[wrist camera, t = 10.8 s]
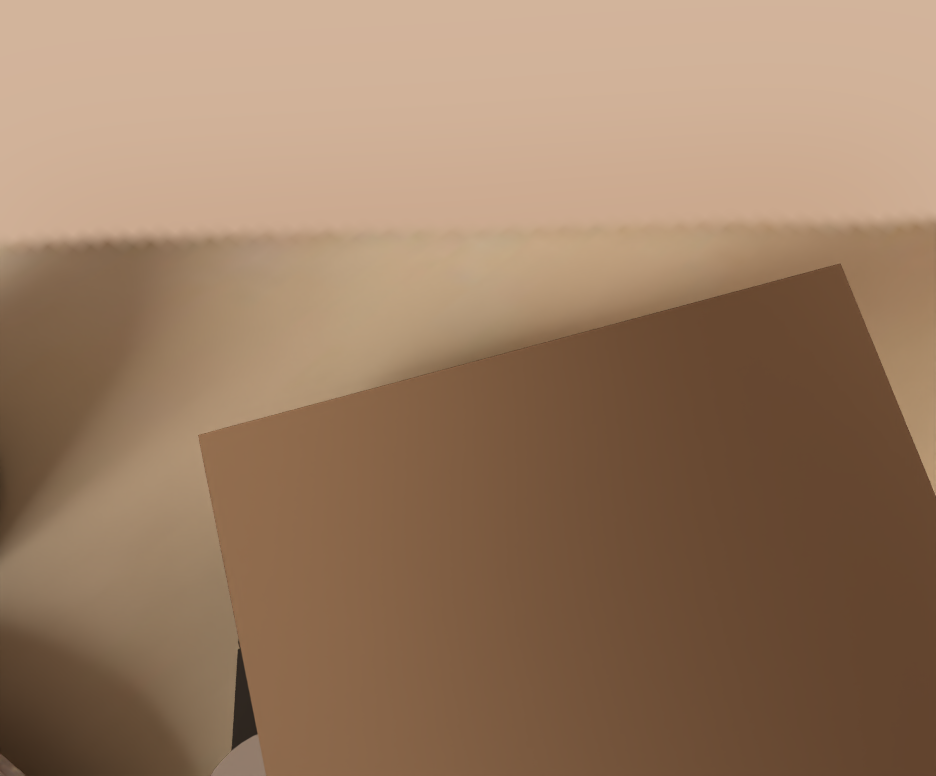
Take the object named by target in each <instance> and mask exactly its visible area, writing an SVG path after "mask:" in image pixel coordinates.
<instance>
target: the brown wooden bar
mask: <svg viewBox="0 0 936 776" xmlns="http://www.w3.org/2000/svg"><path fill="white" fill-rule="evenodd" d="M198 436H199V441H200V446H201V451H202V456H203V462H204V467H205V472H206V477H207V482H208V487H209V492H210V497H211V502H212V507H213V512H214V517H215V522H216V527H217V532H218V537H219V542H220V547H221V552H222V557H223V562H224V567H225V572H226V577H227V582H228V587H229V592H230V597H231V602H232V607H233V612H234V617H235V622H236V627H237V632H238V637H239V642H240V647H241V652H242V657H243V662H244V667H245V672H246V677H247V682H248V687H249V692H250V697H251V702H252V707H253V712H254V718H255V723H256V728H257V733H258V738H259V743H260V748H261V753H262V758H263V763H264V768H265V773H266V776H936V496H935V493H934V491H933V488H932V486H931V484H930V481H929V479H928V476H927V474H926V471H925V469H924V466H923V464H922V462H921V459H920V457H919V454H918V452H917V449H916V447H915V445H914V442H913V440H912V437H911V435H910V432H909V430H908V427H907V425H906V423H905V420H904V418H903V415H902V413H901V410H900V408H899V405H898V403H897V401H896V398H895V396H894V393H893V391H892V388H891V386H890V384H889V381H888V379H887V376H886V374H885V371H884V369H883V366H882V364H881V362H880V359H879V357H878V354H877V352H876V349H875V347H874V344H873V342H872V340H871V337H870V335H869V332H868V330H867V327H866V325H865V323H864V320H863V318H862V315H861V313H860V310H859V308H858V305H857V303H856V301H855V298H854V296H853V293H852V291H851V288H850V286H849V284H848V281H847V279H846V276H845V274H844V271H843V269H842V266H841V264H837V265H833V266H830V267H826V268H822V269H818V270H815V271H811V272H807V273H803V274H800V275H796V276H792V277H788V278H785V279H781V280H777V281H773V282H770V283H766V284H762V285H758V286H755V287H751V288H747V289H744V290H740V291H736V292H732V293H729V294H725V295H721V296H717V297H714V298H710V299H706V300H702V301H699V302H695V303H691V304H687V305H684V306H680V307H676V308H672V309H669V310H665V311H661V312H657V313H654V314H650V315H646V316H642V317H639V318H635V319H631V320H627V321H624V322H620V323H616V324H612V325H609V326H605V327H601V328H597V329H594V330H590V331H586V332H583V333H579V334H575V335H571V336H568V337H564V338H560V339H556V340H553V341H549V342H545V343H541V344H538V345H534V346H530V347H526V348H523V349H519V350H515V351H511V352H508V353H504V354H500V355H496V356H493V357H489V358H485V359H481V360H478V361H474V362H470V363H466V364H463V365H459V366H455V367H451V368H448V369H444V370H440V371H437V372H433V373H429V374H425V375H422V376H418V377H414V378H410V379H407V380H403V381H399V382H395V383H392V384H388V385H384V386H380V387H377V388H373V389H369V390H365V391H362V392H358V393H354V394H350V395H347V396H343V397H339V398H335V399H332V400H328V401H324V402H320V403H317V404H313V405H309V406H305V407H302V408H298V409H294V410H291V411H287V412H283V413H279V414H276V415H272V416H268V417H264V418H261V419H257V420H253V421H249V422H246V423H242V424H238V425H234V426H231V427H227V428H223V429H219V430H216V431H212V432H208V433H204V434H201V435H198Z"/></svg>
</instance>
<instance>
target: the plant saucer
mask: <svg viewBox="0 0 936 776" xmlns="http://www.w3.org/2000/svg"><path fill="white" fill-rule="evenodd" d="M0 776H25V775H24V774H23V773H22V772H21V771H20V770H19V769H18V768H17V767H16V766H14V765H13V764H12V763H11V762H10V761H9V760H8V759H7V758H5V757H4V756H3V755H1V754H0Z"/></svg>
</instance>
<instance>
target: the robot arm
mask: <svg viewBox="0 0 936 776" xmlns="http://www.w3.org/2000/svg"><path fill="white" fill-rule="evenodd" d="M238 643H239V646H240V642H239V641H238ZM211 776H266V773H265V768H264V763H263V758H262V753H261V748H260V743H259V738H258V733H257V728H256V723H255V718H254V712H253V707H252V702H251V697H250V692H249V687H248V682H247V677H246V672H245V667H244V662H243V657H242V652H241V647H240V649H238V657H237V674H236V690H235V706H234V722H233V739H232V750H231V752H230V753H229V754H228V755H227V756H226V757H225V758H223V760H222V761H221V762H220V763H219V764H218V766H217V767H216V768H215V769H214V771H213V773H212V774H211Z"/></svg>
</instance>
